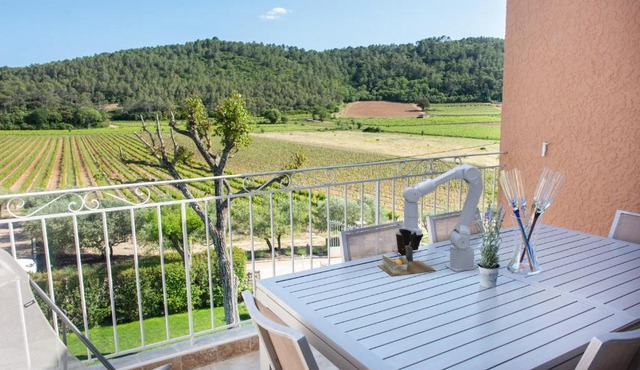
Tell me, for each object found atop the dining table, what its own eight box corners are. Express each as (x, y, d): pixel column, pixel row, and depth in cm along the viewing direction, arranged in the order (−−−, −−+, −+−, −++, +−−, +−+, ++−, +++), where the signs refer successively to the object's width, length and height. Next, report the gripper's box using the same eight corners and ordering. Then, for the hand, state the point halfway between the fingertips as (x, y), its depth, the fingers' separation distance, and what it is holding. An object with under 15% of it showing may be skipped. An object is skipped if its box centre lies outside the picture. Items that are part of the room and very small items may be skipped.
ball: (393, 256, 203) (389, 265, 203) (397, 259, 200) (393, 268, 200) (401, 260, 205) (397, 268, 205) (405, 262, 201) (401, 271, 201)
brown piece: (418, 261, 213) (419, 249, 213) (435, 270, 200) (435, 258, 199) (377, 266, 207) (377, 254, 207) (392, 276, 194) (392, 263, 193)
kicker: (408, 262, 207) (409, 245, 206) (415, 267, 202) (416, 249, 201) (398, 264, 206) (398, 246, 205) (405, 268, 200) (405, 250, 199)
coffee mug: (394, 255, 223) (394, 234, 221) (396, 250, 231) (397, 230, 229) (419, 257, 219) (420, 236, 218) (421, 252, 227) (421, 231, 226)
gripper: (394, 213, 205) (394, 244, 207) (410, 220, 192) (410, 253, 194) (409, 212, 208) (409, 242, 210) (426, 219, 194) (426, 251, 196)
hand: (410, 247), depth 202 cm, fingers open, 7 cm apart
